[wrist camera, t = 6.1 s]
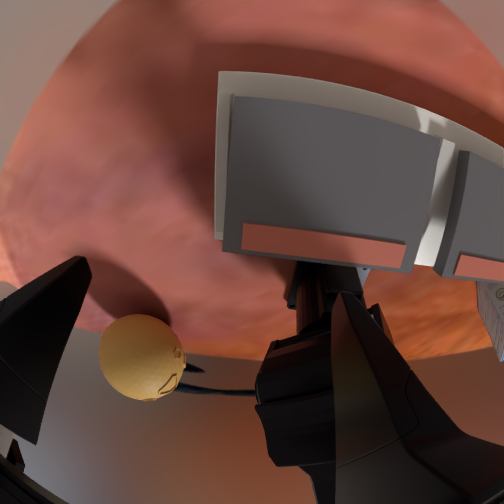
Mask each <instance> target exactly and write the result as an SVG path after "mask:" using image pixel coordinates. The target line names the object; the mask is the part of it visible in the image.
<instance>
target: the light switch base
mask: <svg viewBox="0 0 504 504" xmlns="http://www.w3.org/2000/svg"><path fill="white" fill-rule="evenodd" d="M235 96H244V97H258V98H269V99H279V100H287V101H295V102H302V103H308V104H314V105H320V106H326V107H331V108H336V109H341V110H346V111H350V112H355V113H359V114H363V115H367V116H371V117H375V118H379V119H382V120H386V121H389V122H393V123H396V124H399V125H403V126H406V127H409V128H412V129H415V130H418V131H421V132H423V133H426V134H429V135H432V136H434V137H437V138H440V144H439V153H438V161H437V167H436V174H435V180H434V186H433V191H432V196H431V201H430V206H429V210H428V215H427V219H426V223H425V227H424V231H423V235H422V239H421V242H420V246H419V249H418V253H417V256H416V259H415V263H414V264H419V265H426V266H434V264H435V261H436V258H437V254H438V251H439V248H440V244H441V241H442V237H443V233H444V229H445V225H446V221H447V217H448V213H449V208H450V203H451V198H452V193H453V188H454V182H455V176H456V169H457V162H458V153H459V150H463V151H470V152H472V153H475V154H477V155H479V156H481V157H483V158H485V159H487V160H489V161H491V162H493V163H495V164H496V165H498V166H500V167H502V168H504V148H503V147H501V146H499V145H498V144H496V143H494V142H492V141H491V140H489V139H487V138H485V137H483V136H482V135H480V134H478V133H476V132H474V131H472V130H470V129H468V128H466V127H464V126H462V125H460V124H458V123H456V122H454V121H451V120H449V119H447V118H445V117H442V116H440V115H438V114H435V113H433V112H430V111H428V110H425V109H423V108H420V107H417V106H415V105H412V104H409V103H406V102H403V101H400V100H397V99H394V98H391V97H388V96H384V95H381V94H378V93H374V92H370V91H367V90H363V89H359V88H355V87H351V86H346V85H342V84H337V83H332V82H327V81H322V80H316V79H310V78H303V77H296V76H289V75H280V74H270V73H258V72H241V71H219V73H218V91H217V113H216V142H215V199H214V232H215V239H217V240H223V230H224V215H225V201H226V188H227V175H228V163H229V151H230V140H231V129H232V119H233V109H234V100H235Z"/></svg>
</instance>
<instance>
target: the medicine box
mask: <svg viewBox="0 0 504 504" xmlns="http://www.w3.org/2000/svg"><path fill="white" fill-rule="evenodd" d="M477 294H478V311H479V314H480V316H481V318H482V320H483V322H484V325H485V327H486V329H487V331H488V334H489V336H490V338H491V341H492V343H493V346H494V348H495V351H496V353H497V356H498V358H499V360H500V362H501V361H504V284H498V283H489V282H480V281H477Z"/></svg>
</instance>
